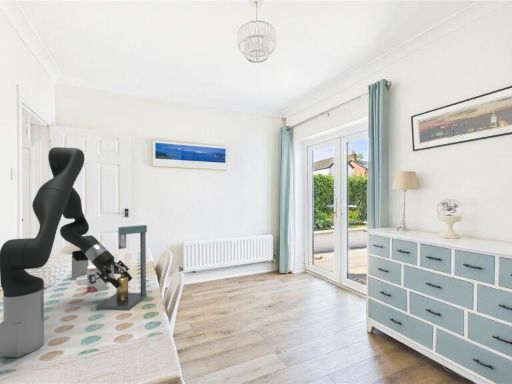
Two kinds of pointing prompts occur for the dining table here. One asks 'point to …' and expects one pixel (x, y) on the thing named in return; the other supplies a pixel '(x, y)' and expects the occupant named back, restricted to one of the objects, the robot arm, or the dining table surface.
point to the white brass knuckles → (83, 280)
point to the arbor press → (137, 297)
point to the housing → (122, 288)
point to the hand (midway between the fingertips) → (125, 283)
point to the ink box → (94, 280)
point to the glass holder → (79, 264)
